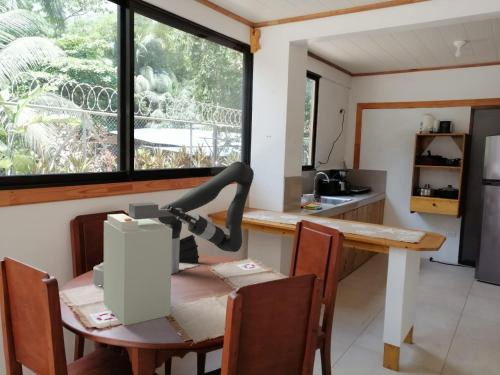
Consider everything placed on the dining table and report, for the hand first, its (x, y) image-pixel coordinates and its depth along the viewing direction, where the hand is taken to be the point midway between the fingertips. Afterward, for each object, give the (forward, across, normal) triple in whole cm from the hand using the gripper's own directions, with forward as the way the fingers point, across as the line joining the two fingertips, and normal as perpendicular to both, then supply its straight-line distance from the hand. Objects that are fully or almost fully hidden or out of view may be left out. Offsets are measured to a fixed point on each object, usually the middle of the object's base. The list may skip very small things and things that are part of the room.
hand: (168, 208), depth 151 cm
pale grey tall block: (-8, 0, +38) cm, 39 cm away
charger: (+3, 0, +5) cm, 6 cm away
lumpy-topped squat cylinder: (-8, -33, +39) cm, 52 cm away
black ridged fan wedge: (-46, -45, +17) cm, 66 cm away
